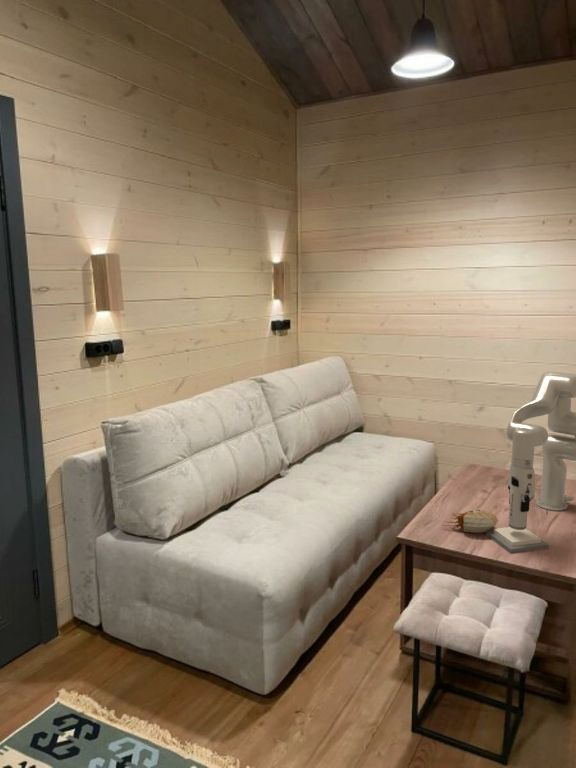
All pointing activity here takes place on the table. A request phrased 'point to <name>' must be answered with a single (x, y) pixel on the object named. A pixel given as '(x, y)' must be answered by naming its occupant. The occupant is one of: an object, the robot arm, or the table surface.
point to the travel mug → (516, 507)
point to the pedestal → (516, 539)
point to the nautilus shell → (475, 521)
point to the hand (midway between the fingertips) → (518, 507)
